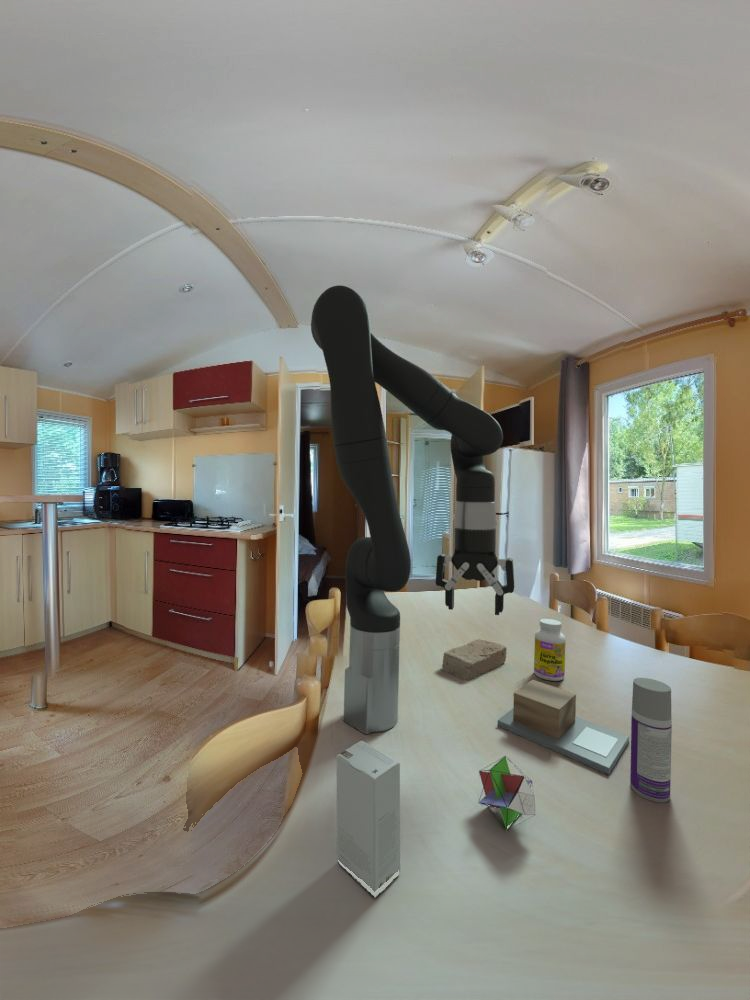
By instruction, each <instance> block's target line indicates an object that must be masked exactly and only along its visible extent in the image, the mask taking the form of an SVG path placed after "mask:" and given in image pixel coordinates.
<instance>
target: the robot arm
mask: <svg viewBox="0 0 750 1000" xmlns="http://www.w3.org/2000/svg"><path fill="white" fill-rule="evenodd" d="M370 319H371V318H370V314H369V309H368V307H367V304H366V302H365V301H364V299H363V298H362V297H361V295H359V293H358V292H356V291H355V290H354V289H352V288H351V287H349V286H345V285H340V284H339V285H332V286H330V287H329V288H327V289H325V290H324V291H323V292H322V293H321V294H320V295H319V297H318V298H317V299H316V301H315V304H314V305H313V309H312V312H311V320H310V321H311V322H310V328H311V329H310V331H311V332H310V333H311V335H312V338H313V340H314V343H316V346H318V348H320V350H322V354H323V357H324V362H325V366H326V369H327V375H328V381H329V387H330V421H331V422H330V423H331V433H332V434H331V435H332V443H333V449H334V453H335V454H334V455H335V459H336V465H337V469H338V473H339V475H340V477H341V479H342V482H343V483H344V485H345V486H346V488H347V489H348V492H350V495H352V497H353V499H354V500H355V502H356V503H357V505H358V507H359V509H360V510H361V511H362V513H363V515H364V517H365V520H366V523H367V527H368V532H369V536H370V537H369V536H363V537H360V538H358V539H356V540H355V541H354V542H352V544H351V546H350V548H349V550H348V553H347V554H346V555H347V556H346V560H345V597H346V598H345V601H346V609H347V612H348V615H349V620H350V621H349V651H348V652H349V655H348V656H349V658H348V659H349V661H348V664H349V665H348V667H346V668H345V669H344V683H343V686H344V687H343V689H344V690H343V691H344V692H343V696H344V697H343V721H344V722H346V723H347V724H349V725H350V726H352V727H354V728H355V729H357V730H359V731H360V732H362V733H363V734H365V735H369V734H370V733H374V732H377V733H379V732H383V731H387V730H390V729H391V728H394V726H395V725H396V724H397V723H398V720H399V719H398V717H399V681H400V680H399V679H400V677H399V675H400V641H401V638H400V636H401V633H400V632H401V613H400V611H399V609H398V607H396V605H394V604H393V603H392V602H391V601H390V600H389V598H388V597H387V596H386V594H385V592H390V593H391V592H392V593H393V592H394V593H395V592H399V591H401V590H402V589H404V587H405V586H406V585H407V583H408V582H409V579H410V575H411V569H412V568H411V566H412V563H411V562H412V561H411V553H410V548H409V545H408V540H407V538H406V537H407V536H406V533H405V529H404V526H403V522H402V518H401V514H400V509H399V505H398V501H397V495H396V489H395V484H394V480H393V474H392V468H391V467H392V465H391V457H390V450H389V446H388V445H389V444H388V438H387V432H386V428H385V423H384V418H383V411H382V408H381V403H380V399H379V395H378V390H377V385H376V384H378V386H380V387H381V388H382V389H384V390H385V391H387V393H389V394H390V395H392V396H393V397H394V398H396V400H398V401H399V402H400V403H402V404H403V405H404V407H406V408H408V409H409V410H410V411H412V413H414V414H415V415H416V416H418V417H419V419H421V420H423V421H424V422H425V423H426V424H428V425H429V426H430V427H432V428H434V429H436V430H440V431H446V432H448V433H449V434H451V437H450V444H449V445H450V455H451V459H452V466H453V470H454V475H455V477H456V487H455V488H456V489H455V490H456V491H455V495H456V496H455V508H454V509H455V510H454V534H453V535H454V542H453V543H454V544H453V545H454V546H453V547H454V549H453V550H454V551H453V555H447V554H445V553H441V554H439V555H438V556H437V557H436V569H435V571H436V572H435V585H436V586H437V587H441V588H443V589H444V603H445V606H446V607H448V610H451V611H452V610H454V607H455V588H454V586H455V585H456V583H457V582H458V581H459V580H460V579H461V577H462V578H463V579H465V581H466V580H468V581H471V580H475V581H478V582H483V581H485V580H486V582H487V583H488V585H490V586H491V587H492V589H493V590H494V592H495V595H494V615H495V616H500V613H503V611H504V601H505V600H504V596H505V594H512V593H514V592H515V574H514V559H513V558H512V557H508V558H498V557H497V553H496V540H497V539H496V537H497V535H496V531H497V529H496V528H497V527H496V526H497V512H496V504H495V503H496V502H495V499H496V497H495V494H496V493H495V492H496V490H495V489H496V486H495V485H496V481H495V480H496V479H495V475H494V473H493V472H491V471H490V470H488V469H486V465H485V458H484V457H485V456H489V455H491V454H494V453H495V452H497V451H498V450H500V448H501V446H502V445H503V440H504V434H503V430H502V427H501V425H500V423H499V422H498V421H497V420H496V419H495V418H494V417H493V416H492V415H491V414H490V413H488V412H487V411H485V410H484V409H481V408H480V407H478V406H476V405H474V404H472V403H471V402H469V401H466V400H464V399H462V398H460V397H459V396H457V395H456V394H455V393H454V392H453V391H452V390H451V389H450V388H449V387H447V386H446V385H445V384H444V383H442V382H441V381H440V380H439V379H438V378H436V377H435V376H433V374H431V373H430V372H428V371H427V370H426V369H424V368H422V367H420V366H419V365H417V364H415V363H413V362H412V361H409V360H407V359H405V358H404V357H401V356H400V355H398V354H397V353H395V352H394V351H392V350H391V349H390V348H389V347H387V346H386V345H384V344H383V343H382V342H381V341H380V340H379V339H377V337H375V335H374V334H373V333H372V332H371V320H370ZM450 562H451V564H452V565H453V567H455V570H456V572H454V574H453V576H452V577H451V578H450V579H449V580H447V579H445V576H446V575H445V573H446V568H447V566H449V564H450ZM498 565H499V566H500V568H501V570H502V571H504V572H505V578H506V584H505V585H502V583H501V582H500V581H499V578H498V577H497V576H496V574H495V573H494V570H495V569H496V568H497V567H498Z"/></svg>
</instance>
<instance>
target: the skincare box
mask: <svg viewBox="0 0 750 1000" xmlns="http://www.w3.org/2000/svg"><path fill="white" fill-rule="evenodd" d="M335 759H336V840H337V841H336V859H338V860H339V861H340V862H341V863H342V864H343V865H344V866H345V867H347V868H348V869H349V870H350V871H352V872H353V873H354V874H355V875H356V876H357V877H358V878H360V879H362V880H363V881H364V882H365V883H366V884H367V885H368V886H370V888H372V890H373V891H374V892H375V891H376V890H377V889H378V888H380V887H381V886H382V885H383V884H384V883H385V882H387V881H388V880H389V879H390V878H391V877H392V876H393V875H394V874H395V873H396V872H398V870H399V869H400V870H401V780H400V779H401V763H400V762H399V761H398V760H396V759H394V758H393V757H391V756H389V755H387V754H386V753H384V752H382V751H381V750H379V749H377V748H375V747H374V746H373V745H371V744H370V743H367V742H365V741H364V740H359V741H358V742H355V744H353V745H351V746H350V747H348V748H346V749H345V750H343V751H342V752H340V753H338V754H337V755H336V758H335Z"/></svg>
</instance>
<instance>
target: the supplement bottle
mask: <svg viewBox="0 0 750 1000" xmlns="http://www.w3.org/2000/svg"><path fill="white" fill-rule="evenodd" d="M539 626H540V628H539V629H538V630H536V632H535V633H534V652H533V653H534V655H533V656H534V661H533V672H534V674H535V676H537V677H538V678H540V679H542V680H546V681H552V682H559V681H563V680H564V678H565V670H566V669H565V668H566V667H565V666H566V640H567V639H566V636H565V635H564V633H562V632H561V630H562V622H561V621H559V620H557V619H551V618H541V619H540V620H539Z"/></svg>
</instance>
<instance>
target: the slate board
mask: <svg viewBox="0 0 750 1000" xmlns="http://www.w3.org/2000/svg"><path fill="white" fill-rule="evenodd" d="M497 727H500V728H503V729H504V730H507V731H508V732H511V733H513V734H516V735H518V736H521V737H522V738H525V739H527V740H528V741H529V740H530V741H531V742H534V743H535V744H539V745H541V746H543V747H545V748H547V749H549V750H552V751H554V752H557V753H559V754H561V755H564V756H565V757H567V758H570V759H572V760H574V761H577V762H579V763H582V764H584V765H586V766H588V767H590V768H593V769H595V770H597V771H600V772H602V773H603V774H607V775H610V774H611V772H612V770H614V767H615V765H616V764H617V763H618V761H619V759H620V757H621V756H622V754H623V753H624V751H625V749H626V747H628V745H629V743H630V735H627V734H624V733H622V732H619V731H616V730H613V729H611V728H608V727H605V726H602V725H600V724H598V723H597V724H596V723H594V722H591V721H589V720H586V719H583V718H582V717H579V716H576V715H575V723H574V724H573V725H572V726H571V727H570V728H569V729H568V730H567V731H566V732H565V733H564V734H563V736H562V737H561V738H560V739H556V738H554V737H552V736H549V735H547V734H545V733H542V732H540V731H537V730H535V729H533V728H530V727H528V726H525V725H523V724H521V723H518V722H516V721H513V708H511V709H510V710H508V712H506V713H505V714H504V715H502V716H501V717H499V719H497Z"/></svg>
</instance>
